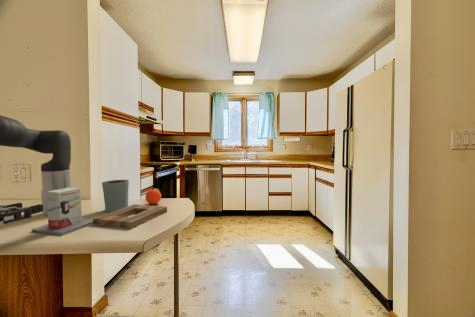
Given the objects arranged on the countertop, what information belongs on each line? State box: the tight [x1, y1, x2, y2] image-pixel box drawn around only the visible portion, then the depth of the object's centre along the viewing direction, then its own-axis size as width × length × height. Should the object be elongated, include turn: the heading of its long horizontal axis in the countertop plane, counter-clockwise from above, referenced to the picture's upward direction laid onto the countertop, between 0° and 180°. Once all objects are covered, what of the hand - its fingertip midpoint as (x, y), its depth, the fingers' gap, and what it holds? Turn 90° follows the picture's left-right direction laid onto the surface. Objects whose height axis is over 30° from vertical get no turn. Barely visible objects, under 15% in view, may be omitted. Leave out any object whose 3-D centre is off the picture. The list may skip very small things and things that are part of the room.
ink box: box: [46, 187, 83, 229], centre depth 81 cm, size 9×5×12 cm, turn 167°
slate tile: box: [31, 217, 94, 236], centre depth 81 cm, size 13×13×1 cm
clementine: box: [144, 188, 162, 205], centre depth 111 cm, size 8×7×7 cm
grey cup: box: [101, 179, 130, 213], centre depth 102 cm, size 10×10×12 cm
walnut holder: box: [92, 203, 168, 229], centre depth 90 cm, size 16×20×2 cm
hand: (31, 206), depth 71 cm, fingers open, 8 cm apart
